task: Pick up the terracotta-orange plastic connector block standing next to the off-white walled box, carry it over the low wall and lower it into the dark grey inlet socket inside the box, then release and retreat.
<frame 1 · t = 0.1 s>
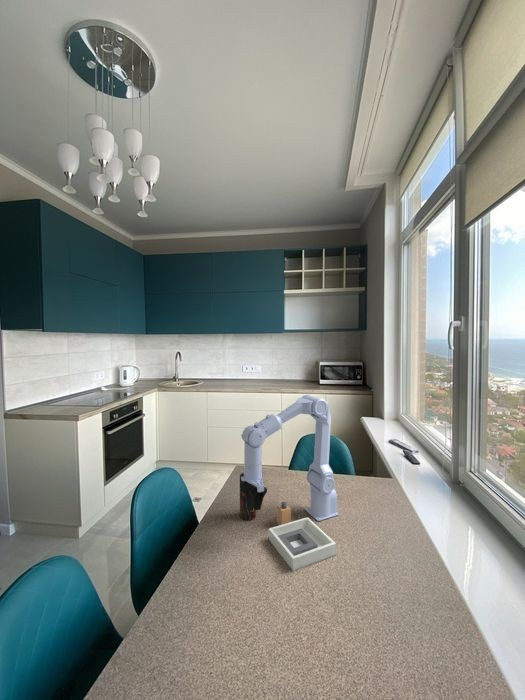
hand: (253, 503, 100), 10 cm above the table, fingers open, 7 cm apart
connector: (284, 524, 105), on the table
walled box: (301, 546, 93), on the table
deodorant: (247, 516, 110), on the table
inlet socket: (297, 548, 93), resting on walled box
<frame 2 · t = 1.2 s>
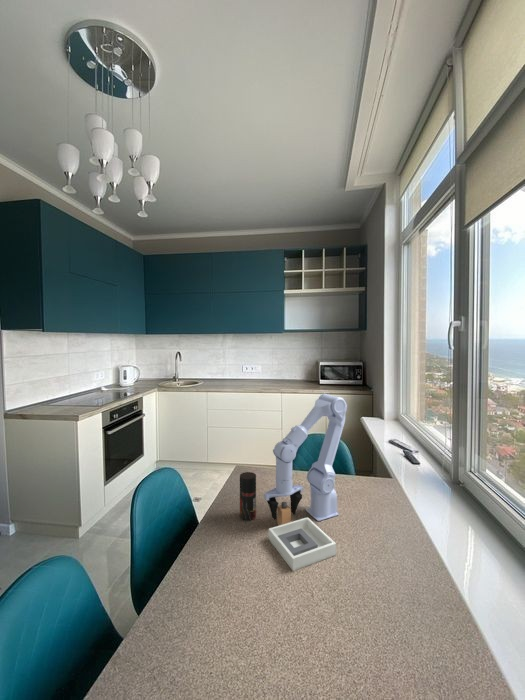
hand: (283, 515, 105), 3 cm above the table, fingers open, 7 cm apart
nothing on the table moved.
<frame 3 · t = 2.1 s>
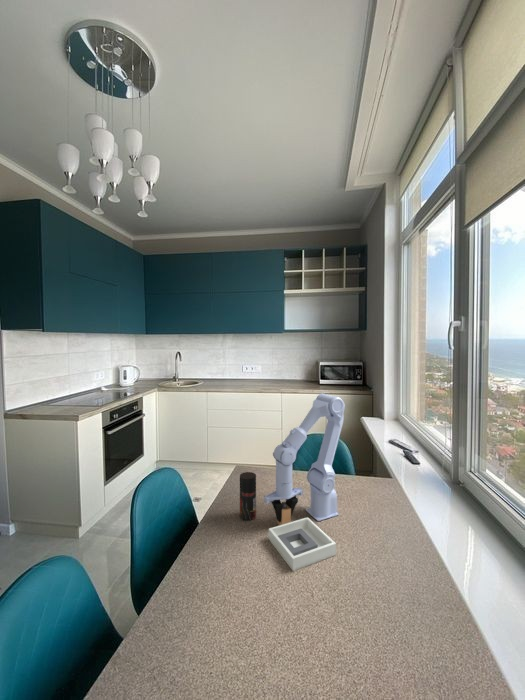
hand: (284, 518, 105), 2 cm above the table, fingers closed on connector, 3 cm apart
connector: (284, 524, 105), on the table, touching gripper
everything else where it was.
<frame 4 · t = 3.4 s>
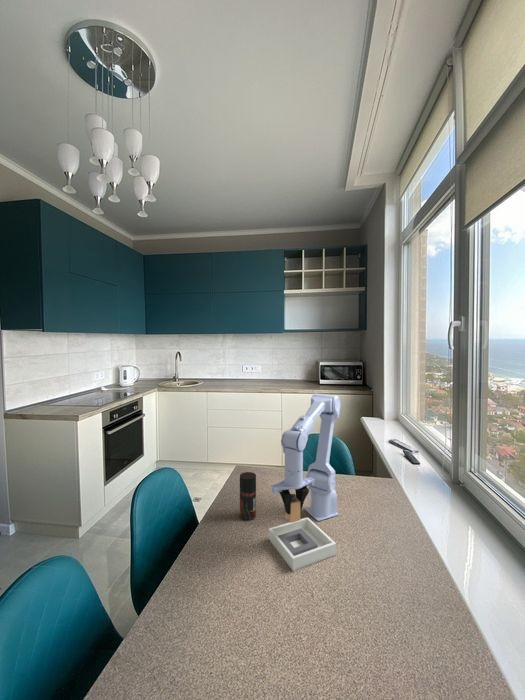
hand: (293, 511, 95), 10 cm above the table, fingers closed on connector, 3 cm apart
connector: (292, 518, 96), point 7 cm above the table, touching gripper
everything else where it was.
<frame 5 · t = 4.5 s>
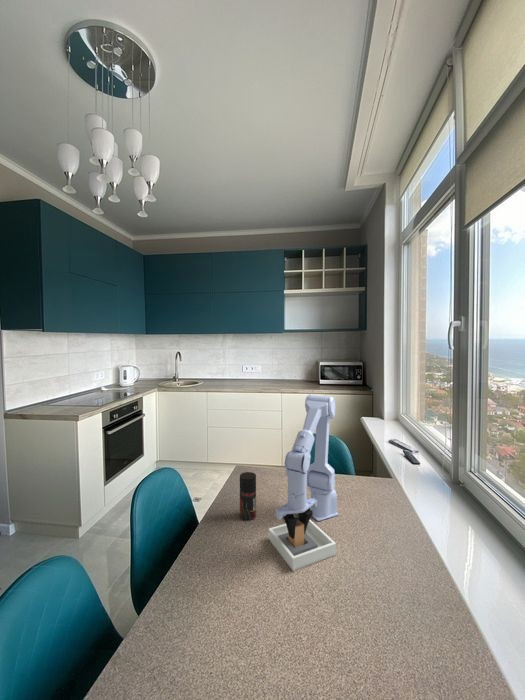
hand: (297, 534, 92), 4 cm above the table, fingers closed on connector, 3 cm apart
connector: (296, 542, 93), point 2 cm above the table, touching gripper
everything else where it was.
when the fingers open (3 cm above the table, at t = 5.1 s): connector stays where it is, resting on walled box.
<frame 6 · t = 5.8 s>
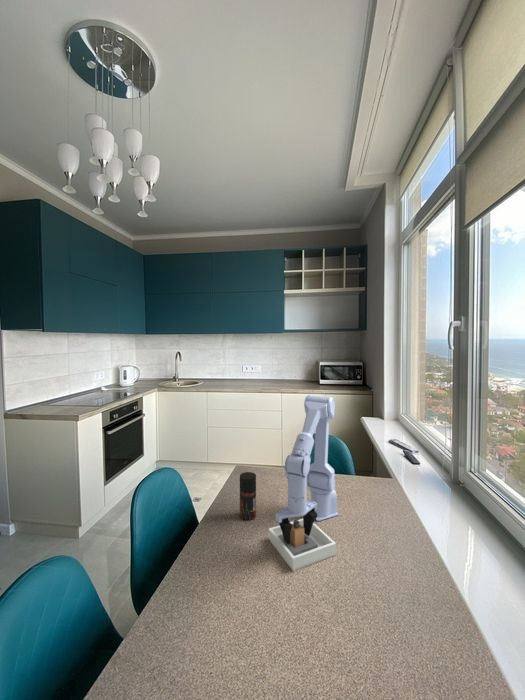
hand: (297, 538, 92), 3 cm above the table, fingers open, 7 cm apart
connector: (296, 545, 93), resting on walled box
everything else where it was.
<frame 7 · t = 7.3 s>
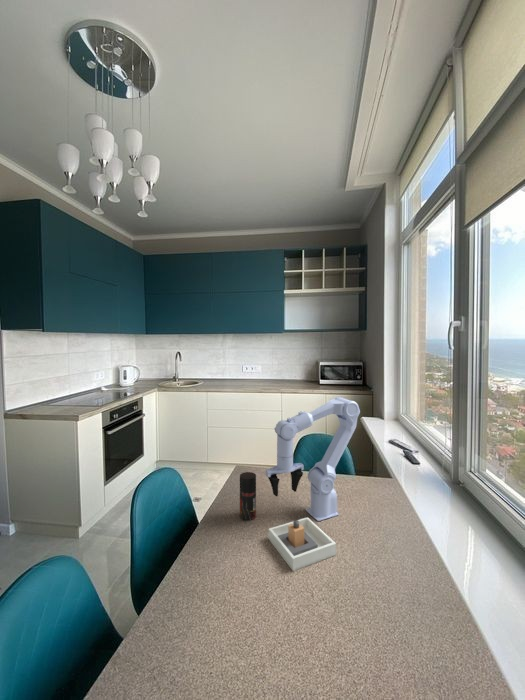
hand: (284, 492, 107), 10 cm above the table, fingers open, 7 cm apart
nothing on the table moved.
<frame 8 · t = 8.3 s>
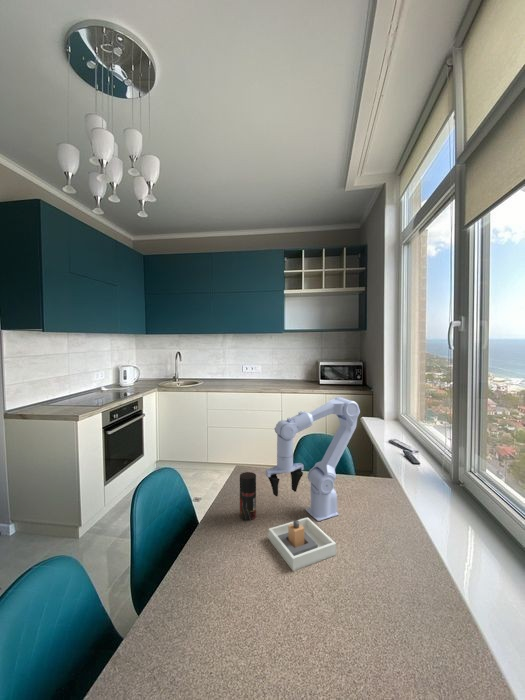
hand: (284, 492, 107), 10 cm above the table, fingers open, 7 cm apart
nothing on the table moved.
at the end: connector 0.4 cm off-centre on the inlet socket, point 0.5 cm above the inlet socket's base; connector tilted 0°; the gripper is holding nothing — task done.
